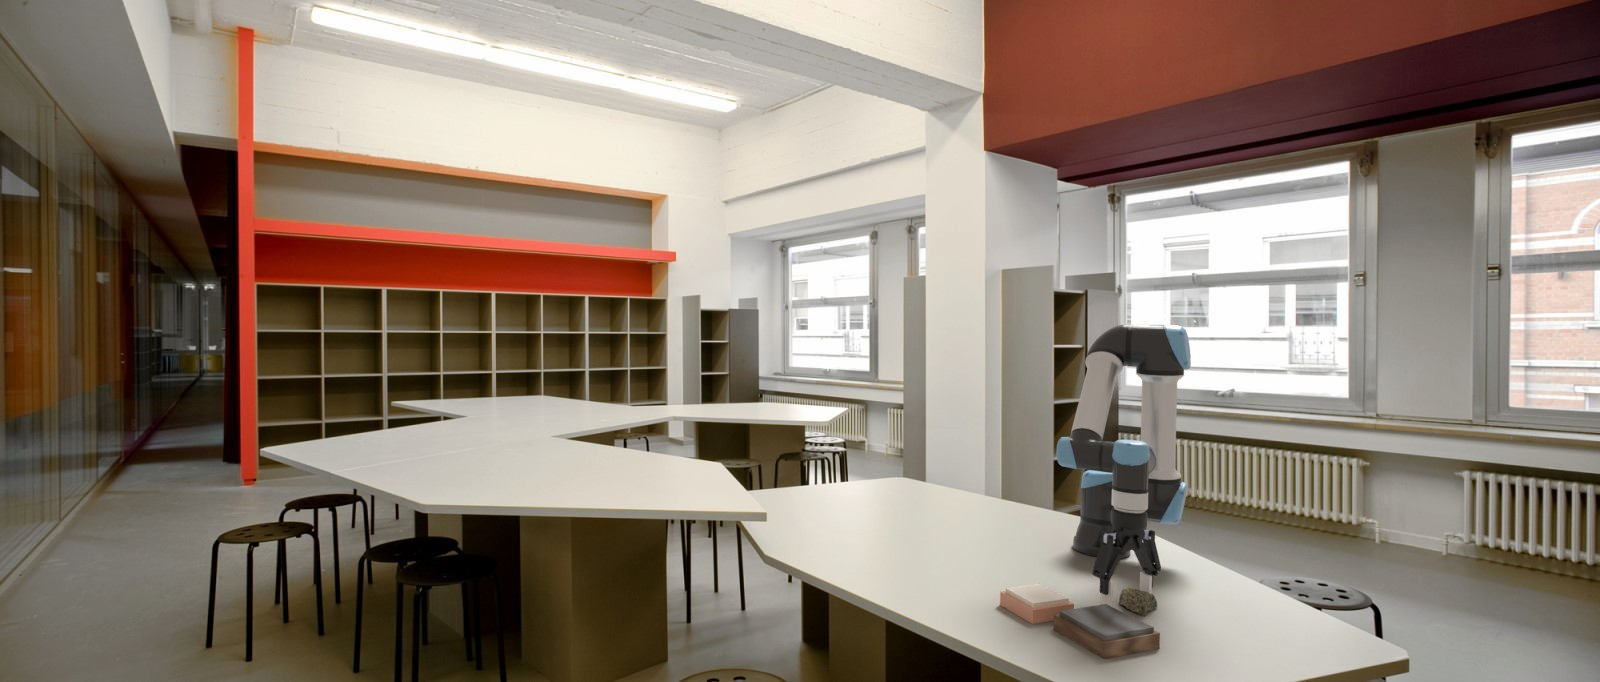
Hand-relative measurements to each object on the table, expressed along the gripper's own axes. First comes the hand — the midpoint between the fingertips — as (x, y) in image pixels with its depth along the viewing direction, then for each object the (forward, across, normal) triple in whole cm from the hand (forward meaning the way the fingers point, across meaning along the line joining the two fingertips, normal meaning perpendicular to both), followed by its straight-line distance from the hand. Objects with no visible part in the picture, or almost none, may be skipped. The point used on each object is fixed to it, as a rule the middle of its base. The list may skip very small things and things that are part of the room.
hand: (1126, 605), depth 162 cm
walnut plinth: (0, +18, +12) cm, 22 cm away
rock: (+1, -2, +2) cm, 3 cm away
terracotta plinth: (0, +22, -4) cm, 22 cm away
